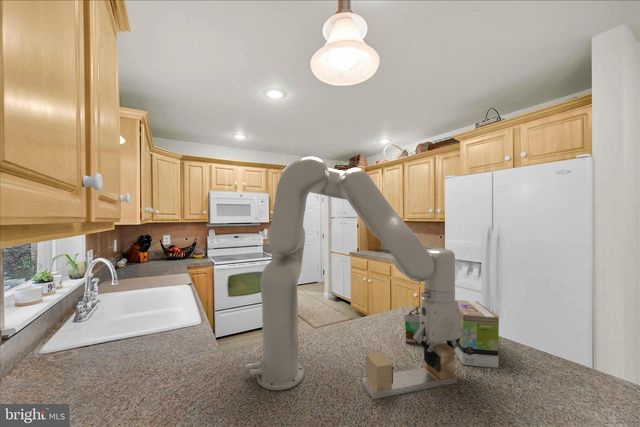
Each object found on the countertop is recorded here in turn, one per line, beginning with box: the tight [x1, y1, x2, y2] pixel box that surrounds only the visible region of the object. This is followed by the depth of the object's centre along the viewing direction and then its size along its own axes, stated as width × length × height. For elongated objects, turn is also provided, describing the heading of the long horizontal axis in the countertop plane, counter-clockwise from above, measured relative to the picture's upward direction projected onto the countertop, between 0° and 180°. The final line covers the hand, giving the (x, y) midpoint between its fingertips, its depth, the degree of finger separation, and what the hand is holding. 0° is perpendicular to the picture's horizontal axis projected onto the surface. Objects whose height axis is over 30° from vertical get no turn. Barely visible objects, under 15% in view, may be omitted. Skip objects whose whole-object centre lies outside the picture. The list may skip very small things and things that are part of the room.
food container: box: [404, 305, 424, 345], centre depth 94 cm, size 12×6×10 cm, turn 143°
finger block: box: [426, 340, 456, 379], centre depth 73 cm, size 5×6×7 cm
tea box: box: [455, 299, 500, 369], centre depth 85 cm, size 15×10×15 cm, turn 171°
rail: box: [361, 352, 458, 400], centre depth 70 cm, size 24×6×8 cm, turn 105°
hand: (439, 362), depth 73 cm, fingers open, 5 cm apart
